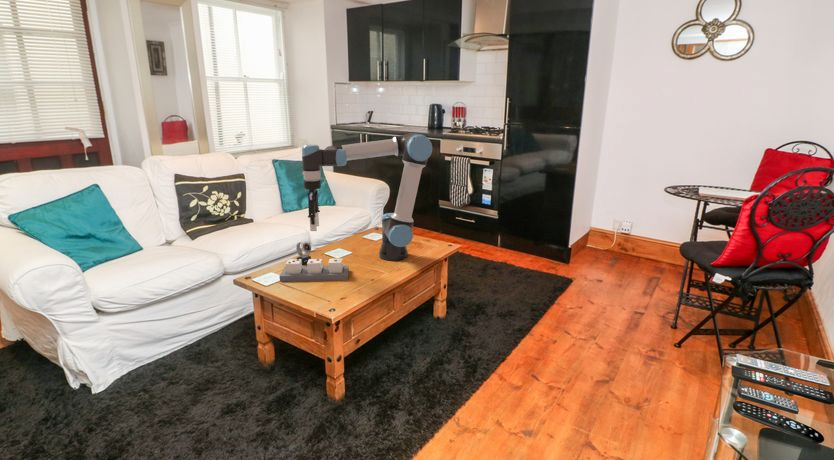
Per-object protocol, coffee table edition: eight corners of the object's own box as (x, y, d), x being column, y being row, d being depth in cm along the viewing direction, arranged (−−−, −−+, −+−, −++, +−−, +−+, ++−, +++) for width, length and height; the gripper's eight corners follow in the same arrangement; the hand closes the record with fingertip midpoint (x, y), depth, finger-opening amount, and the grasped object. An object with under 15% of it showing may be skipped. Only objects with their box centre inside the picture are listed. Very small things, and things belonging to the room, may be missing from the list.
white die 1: (302, 269, 211) (301, 258, 210) (299, 273, 205) (299, 263, 204) (289, 269, 211) (288, 259, 209) (286, 274, 205) (285, 263, 204)
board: (348, 270, 216) (348, 265, 216) (347, 279, 205) (346, 274, 204) (285, 271, 214) (284, 266, 213) (279, 281, 202) (279, 276, 202)
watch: (305, 266, 222) (304, 244, 219) (294, 262, 226) (292, 241, 223) (314, 262, 226) (312, 241, 223) (302, 259, 230) (301, 239, 227)
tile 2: (322, 268, 212) (322, 258, 210) (320, 273, 206) (320, 262, 205) (309, 269, 211) (309, 258, 210) (307, 273, 206) (307, 263, 204)
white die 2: (342, 268, 213) (342, 258, 211) (341, 273, 207) (341, 262, 205) (330, 268, 212) (329, 258, 211) (328, 273, 206) (328, 262, 205)
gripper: (307, 176, 213) (309, 223, 219) (299, 183, 193) (303, 234, 199) (323, 176, 213) (325, 222, 220) (317, 183, 194) (320, 234, 200)
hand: (314, 228), depth 209 cm, fingers open, 8 cm apart
